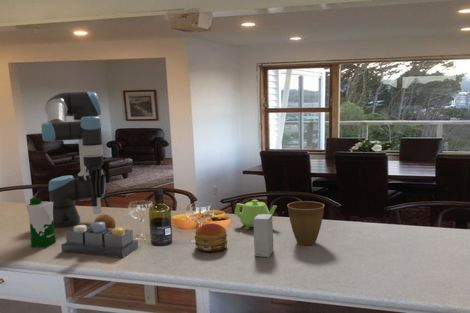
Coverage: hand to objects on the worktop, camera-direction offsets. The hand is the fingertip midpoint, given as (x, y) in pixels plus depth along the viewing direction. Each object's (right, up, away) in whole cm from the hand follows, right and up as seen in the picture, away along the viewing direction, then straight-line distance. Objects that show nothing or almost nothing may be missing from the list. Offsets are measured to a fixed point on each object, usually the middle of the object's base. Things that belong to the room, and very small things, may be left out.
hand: (97, 213), depth 178 cm
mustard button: (+9, -11, -1) cm, 14 cm away
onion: (-3, -13, +21) cm, 25 cm away
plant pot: (+85, -13, +4) cm, 86 cm away
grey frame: (+1, -15, +2) cm, 15 cm away
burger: (+46, -14, +1) cm, 48 cm away
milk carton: (-26, -15, +11) cm, 32 cm away
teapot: (+65, -10, +29) cm, 72 cm away
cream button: (-8, -11, +4) cm, 14 cm away
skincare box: (+67, -15, -7) cm, 69 cm away
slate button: (0, -9, +1) cm, 9 cm away
